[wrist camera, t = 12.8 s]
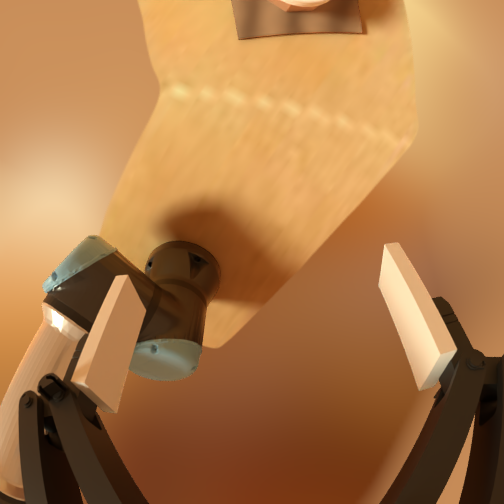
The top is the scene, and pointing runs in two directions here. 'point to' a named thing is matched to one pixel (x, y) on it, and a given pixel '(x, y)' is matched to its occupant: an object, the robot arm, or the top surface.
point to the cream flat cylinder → (305, 2)
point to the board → (295, 18)
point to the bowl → (291, 6)
